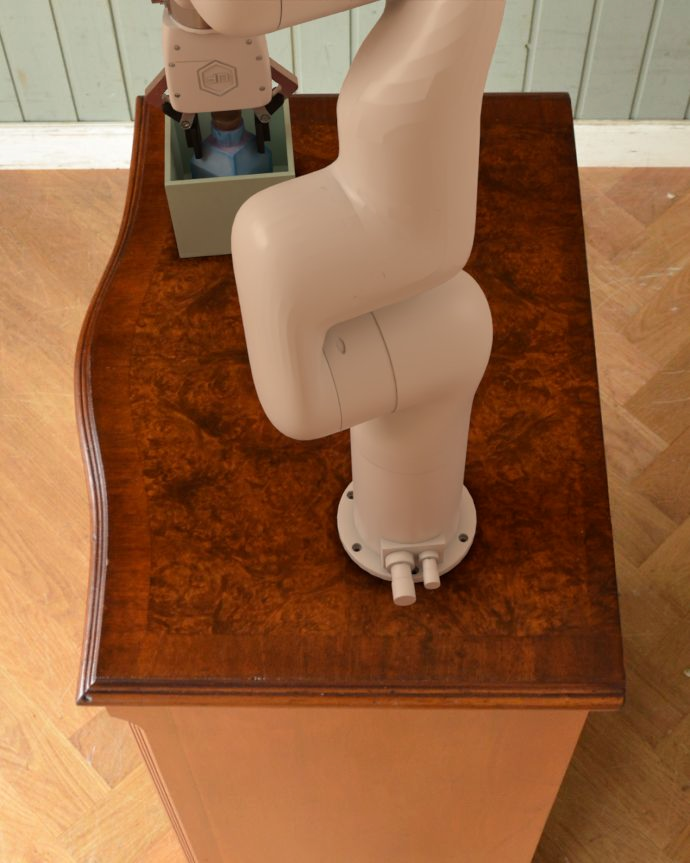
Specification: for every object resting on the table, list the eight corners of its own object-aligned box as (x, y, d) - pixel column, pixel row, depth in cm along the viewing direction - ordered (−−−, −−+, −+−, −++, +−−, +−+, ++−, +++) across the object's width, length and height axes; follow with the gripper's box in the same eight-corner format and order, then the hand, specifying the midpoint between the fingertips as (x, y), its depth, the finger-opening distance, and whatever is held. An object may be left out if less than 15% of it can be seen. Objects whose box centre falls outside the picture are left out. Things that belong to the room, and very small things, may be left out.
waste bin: (301, 248, 125) (294, 174, 116) (180, 258, 125) (164, 185, 116) (294, 165, 132) (287, 90, 124) (179, 174, 132) (165, 100, 123)
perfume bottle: (274, 194, 127) (268, 107, 118) (240, 227, 124) (231, 141, 115) (230, 173, 129) (220, 85, 120) (195, 205, 126) (183, 118, 117)
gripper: (113, 28, 104) (147, 179, 119) (303, 13, 104) (314, 165, 119) (115, -21, 108) (148, 130, 123) (298, -35, 108) (309, 117, 123)
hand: (229, 146), depth 121 cm, fingers open, 5 cm apart
